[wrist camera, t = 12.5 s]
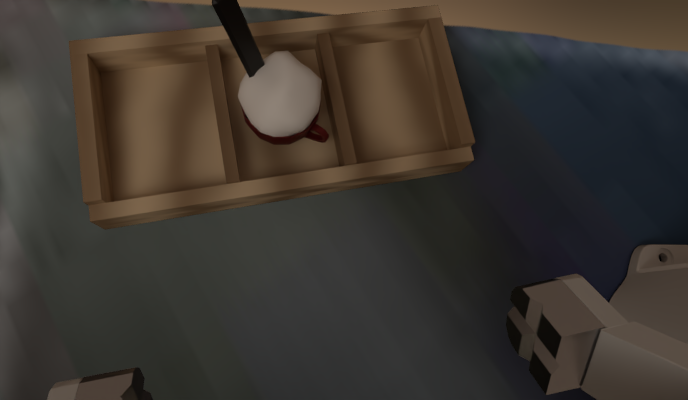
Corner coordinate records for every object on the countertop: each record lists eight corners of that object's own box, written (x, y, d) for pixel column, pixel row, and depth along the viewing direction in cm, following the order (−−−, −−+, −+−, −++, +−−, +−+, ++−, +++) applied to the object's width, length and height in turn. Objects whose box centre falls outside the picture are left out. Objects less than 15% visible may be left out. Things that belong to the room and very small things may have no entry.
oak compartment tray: (423, 32, 46) (437, 5, 42) (460, 171, 44) (479, 156, 40) (89, 68, 41) (68, 40, 37) (104, 229, 38) (84, 218, 34)
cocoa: (335, 144, 42) (369, 81, 30) (271, 178, 40) (281, 125, 28) (279, 53, 43) (291, -42, 31) (214, 82, 41) (201, -7, 29)
